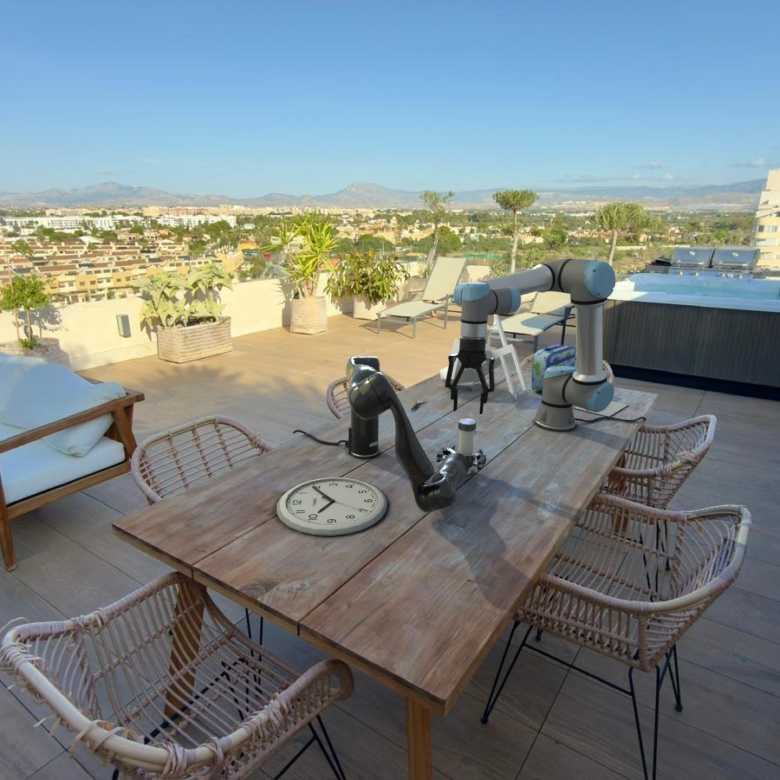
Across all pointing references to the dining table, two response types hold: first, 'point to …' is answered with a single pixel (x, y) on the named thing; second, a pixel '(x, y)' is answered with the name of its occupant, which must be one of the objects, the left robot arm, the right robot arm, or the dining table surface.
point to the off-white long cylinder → (466, 443)
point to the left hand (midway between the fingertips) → (466, 449)
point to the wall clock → (331, 506)
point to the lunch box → (550, 362)
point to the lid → (467, 424)
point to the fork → (418, 402)
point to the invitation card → (608, 408)
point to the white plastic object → (500, 357)
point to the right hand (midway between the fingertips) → (468, 411)
